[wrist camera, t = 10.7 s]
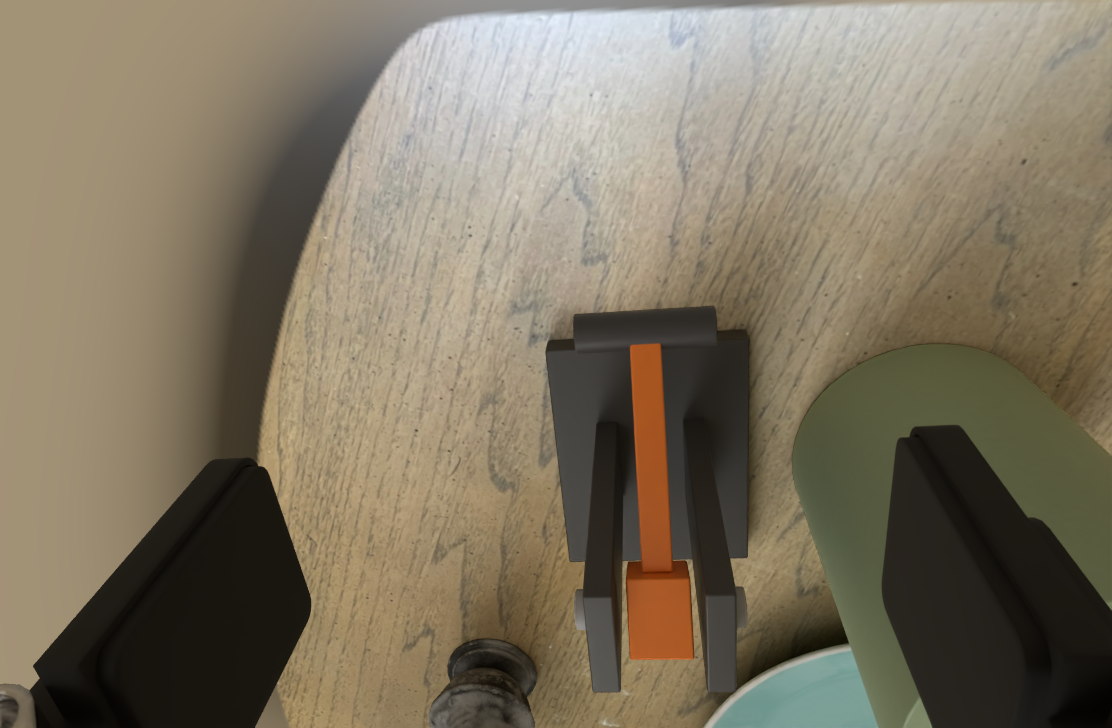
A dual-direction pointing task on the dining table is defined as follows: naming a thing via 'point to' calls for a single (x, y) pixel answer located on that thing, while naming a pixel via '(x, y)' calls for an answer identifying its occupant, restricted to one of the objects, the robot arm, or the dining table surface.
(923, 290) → the dining table surface
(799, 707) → the plate
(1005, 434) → the green canister
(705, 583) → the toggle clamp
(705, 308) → the orange pivot lever
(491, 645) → the chess piece
